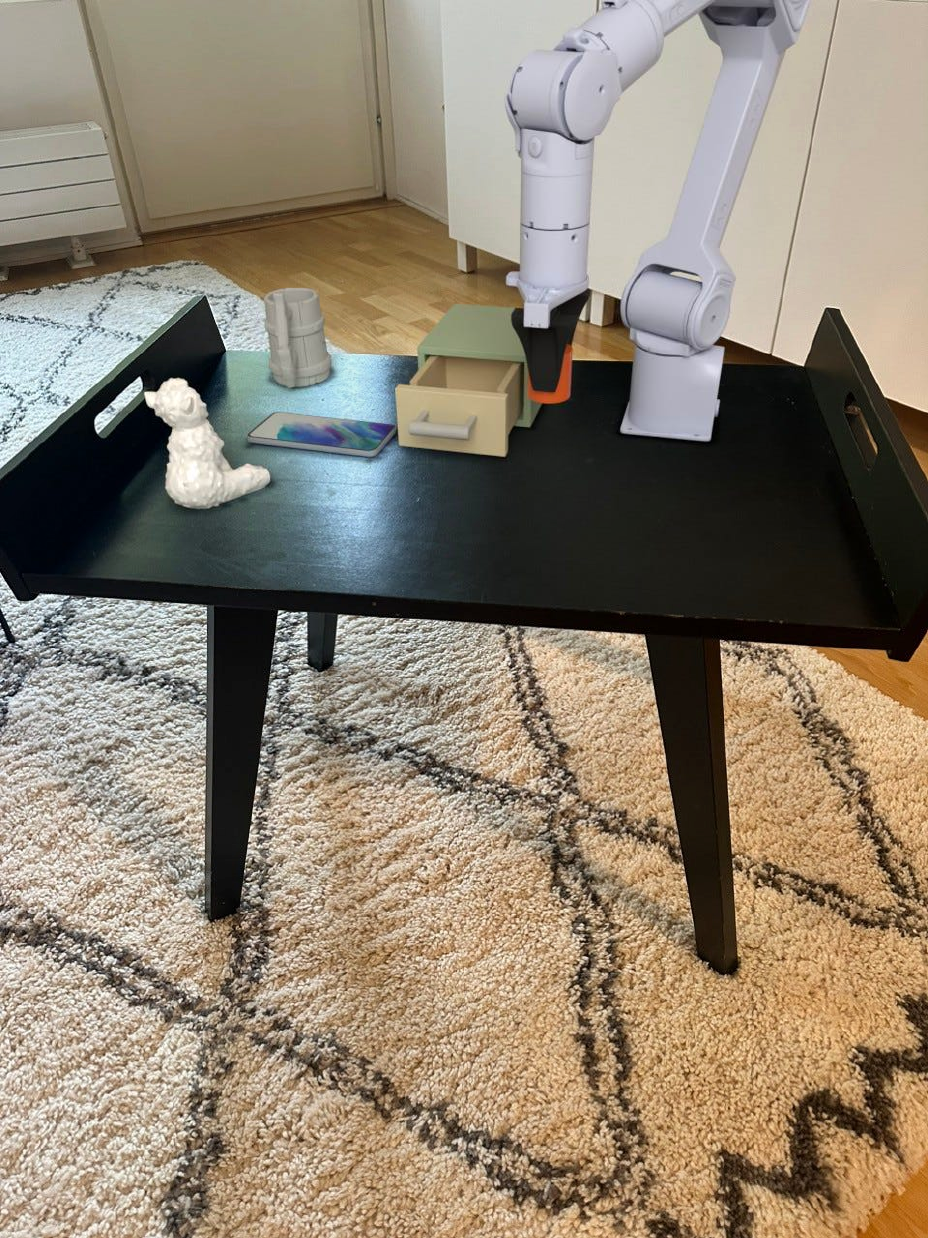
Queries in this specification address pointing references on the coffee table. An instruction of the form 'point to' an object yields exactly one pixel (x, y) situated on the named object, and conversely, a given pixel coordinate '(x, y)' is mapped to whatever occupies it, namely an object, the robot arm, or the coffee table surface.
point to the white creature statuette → (198, 452)
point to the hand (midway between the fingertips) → (549, 380)
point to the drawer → (461, 405)
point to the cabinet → (479, 343)
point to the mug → (296, 337)
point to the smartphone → (323, 434)
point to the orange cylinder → (563, 385)
